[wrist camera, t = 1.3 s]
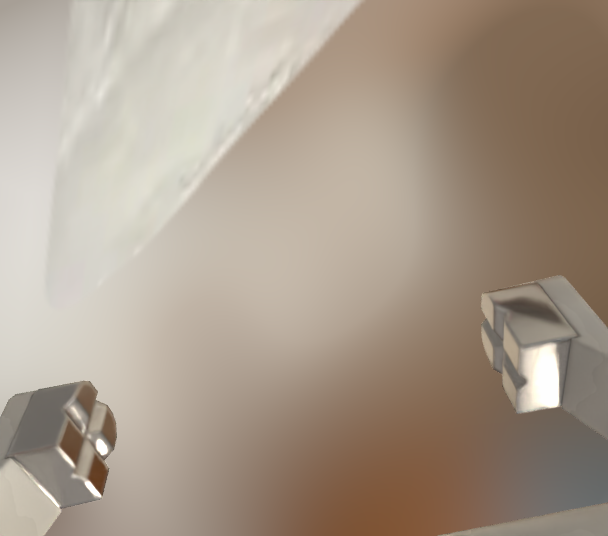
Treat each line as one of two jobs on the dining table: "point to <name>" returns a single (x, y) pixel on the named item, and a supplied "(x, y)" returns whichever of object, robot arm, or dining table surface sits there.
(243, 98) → the dining table surface
